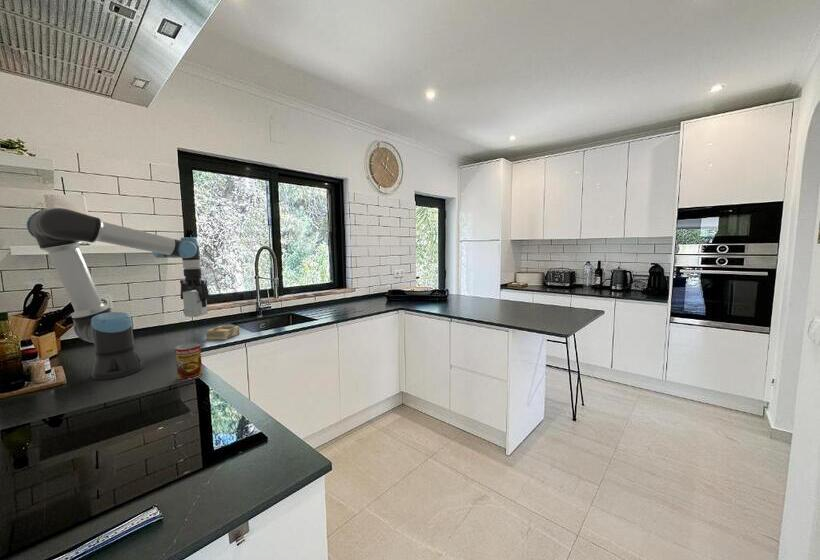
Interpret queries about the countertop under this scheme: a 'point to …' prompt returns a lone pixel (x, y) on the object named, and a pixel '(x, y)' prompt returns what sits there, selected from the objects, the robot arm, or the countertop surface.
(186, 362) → the canned food
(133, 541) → the countertop surface
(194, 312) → the supplement box
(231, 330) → the display pedestal
